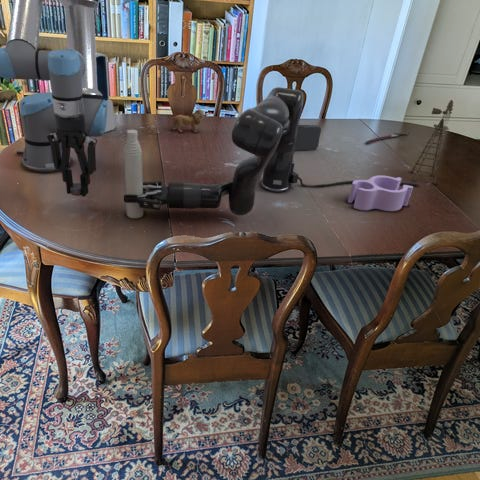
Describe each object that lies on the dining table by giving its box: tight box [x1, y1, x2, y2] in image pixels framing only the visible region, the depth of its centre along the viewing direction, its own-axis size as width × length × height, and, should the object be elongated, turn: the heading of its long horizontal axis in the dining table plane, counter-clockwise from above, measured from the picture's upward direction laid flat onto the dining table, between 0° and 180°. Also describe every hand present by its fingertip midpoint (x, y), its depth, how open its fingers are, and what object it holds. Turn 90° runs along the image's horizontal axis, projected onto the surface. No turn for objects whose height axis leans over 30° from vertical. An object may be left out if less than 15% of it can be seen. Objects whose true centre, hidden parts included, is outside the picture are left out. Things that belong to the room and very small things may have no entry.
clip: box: [347, 175, 414, 212], centre depth 156 cm, size 20×12×7 cm, turn 109°
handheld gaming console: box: [294, 124, 322, 151], centre depth 189 cm, size 23×3×10 cm, turn 108°
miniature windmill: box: [410, 99, 454, 185], centre depth 171 cm, size 9×8×30 cm
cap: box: [70, 182, 82, 197], centre depth 135 cm, size 4×4×2 cm
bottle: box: [123, 129, 144, 219], centre depth 130 cm, size 5×5×25 cm
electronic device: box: [96, 51, 116, 133], centre depth 182 cm, size 12×8×30 cm, turn 148°
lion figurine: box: [169, 108, 205, 133], centre depth 196 cm, size 15×5×9 cm, turn 110°
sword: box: [365, 132, 410, 145], centre depth 213 cm, size 31×3×1 cm, turn 126°
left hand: (77, 192), depth 135 cm, fingers closed on cap, 4 cm apart
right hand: (125, 194), depth 133 cm, fingers closed on bottle, 5 cm apart
